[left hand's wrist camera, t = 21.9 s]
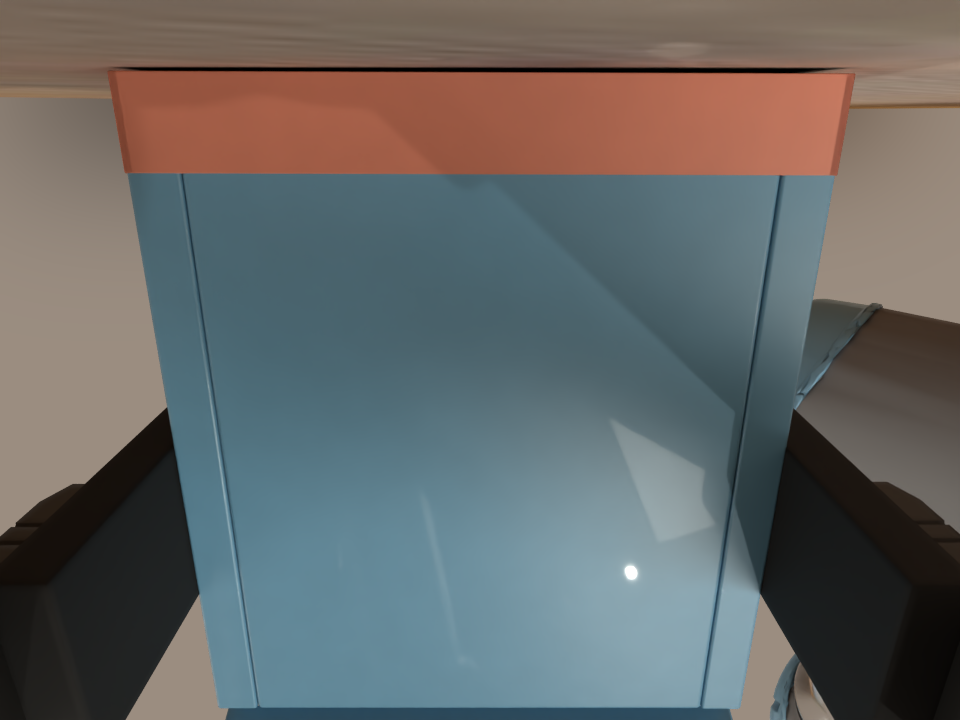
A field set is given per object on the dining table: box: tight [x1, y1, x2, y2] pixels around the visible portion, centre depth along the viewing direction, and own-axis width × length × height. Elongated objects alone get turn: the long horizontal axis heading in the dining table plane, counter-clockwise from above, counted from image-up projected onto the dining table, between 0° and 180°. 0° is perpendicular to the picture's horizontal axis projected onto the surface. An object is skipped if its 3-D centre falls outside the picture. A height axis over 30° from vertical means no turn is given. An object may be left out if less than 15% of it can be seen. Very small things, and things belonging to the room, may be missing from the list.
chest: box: [108, 71, 855, 709], centre depth 17 cm, size 16×9×10 cm, turn 0°
